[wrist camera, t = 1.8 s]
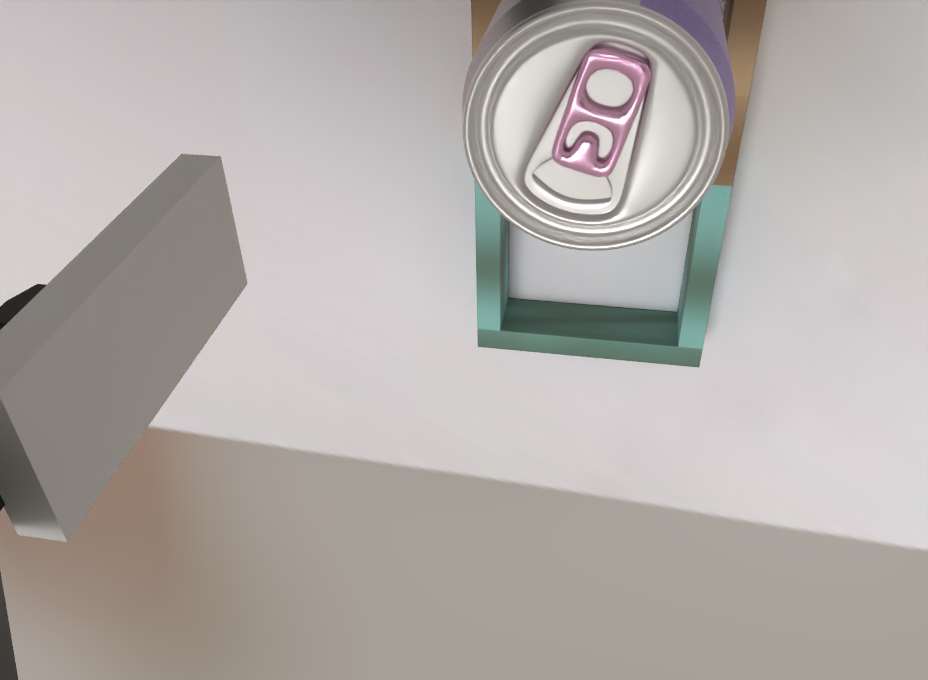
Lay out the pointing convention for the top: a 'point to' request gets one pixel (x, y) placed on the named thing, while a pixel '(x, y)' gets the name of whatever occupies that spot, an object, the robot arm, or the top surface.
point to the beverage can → (599, 116)
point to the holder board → (613, 327)
